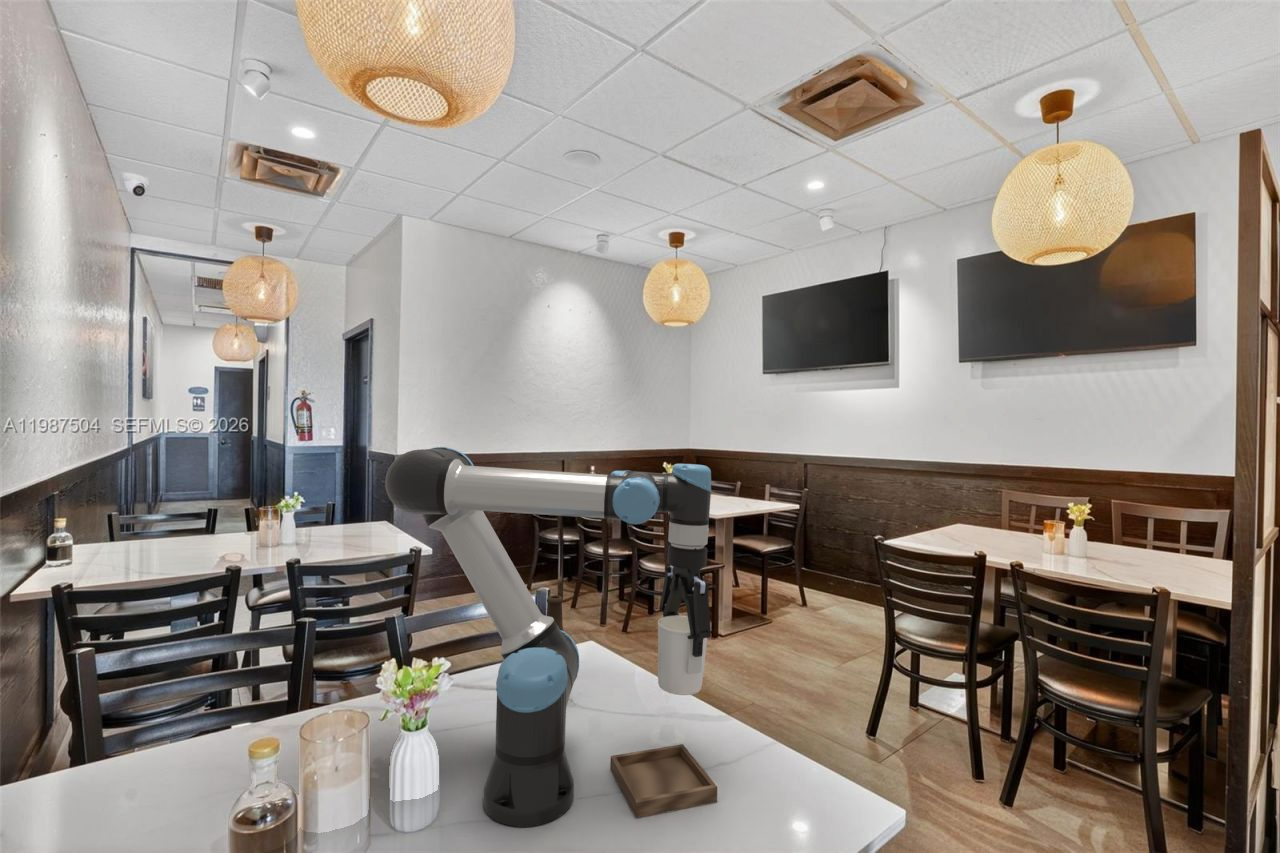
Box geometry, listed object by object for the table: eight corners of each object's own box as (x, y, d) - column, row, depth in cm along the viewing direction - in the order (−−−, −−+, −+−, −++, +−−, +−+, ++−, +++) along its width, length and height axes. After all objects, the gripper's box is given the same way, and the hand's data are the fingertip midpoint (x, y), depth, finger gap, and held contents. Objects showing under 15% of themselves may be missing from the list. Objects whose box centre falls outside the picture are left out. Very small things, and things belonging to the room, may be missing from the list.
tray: (636, 818, 97) (636, 802, 97) (610, 769, 111) (610, 755, 111) (717, 801, 102) (717, 786, 102) (682, 757, 116) (682, 744, 116)
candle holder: (704, 677, 119) (707, 617, 119) (707, 699, 109) (710, 633, 109) (654, 673, 120) (658, 613, 120) (653, 695, 110) (657, 629, 110)
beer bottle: (551, 690, 144) (554, 590, 144) (576, 699, 139) (578, 596, 139) (528, 701, 137) (530, 597, 138) (552, 711, 133) (555, 603, 133)
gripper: (735, 557, 106) (728, 683, 106) (679, 534, 126) (673, 639, 126) (697, 558, 103) (690, 688, 103) (647, 534, 123) (640, 642, 123)
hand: (681, 661), depth 114 cm, fingers closed on candle holder, 10 cm apart
